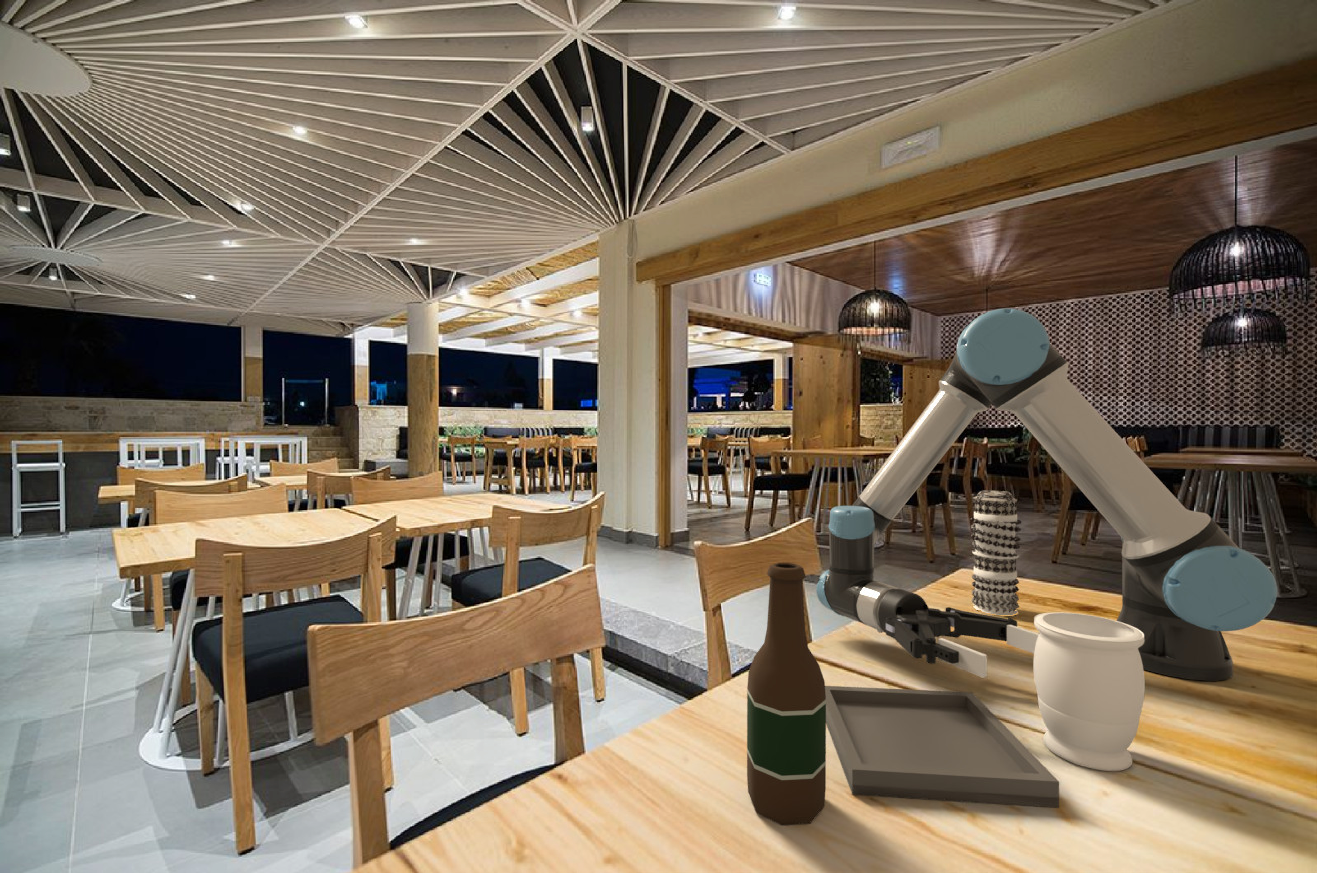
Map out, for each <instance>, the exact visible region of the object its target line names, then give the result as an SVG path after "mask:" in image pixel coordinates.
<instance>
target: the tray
mask: <svg viewBox="0 0 1317 873" xmlns="http://www.w3.org/2000/svg"><path fill="white" fill-rule="evenodd" d="M825 694H826V728H827V731H828V732H829V736H830V738H831V740H832V743H833V746H834V749H835V751H836V754H837V757H838V759H839V762H840V765H841V768H842V771H843V773H844V776H845V779H846V781H847V784H848V787H849V789H850V790H849V791H850V792H851V795H853V796H871V797H886V798H898V799H899V798H900V799H901V798H903V799H917V800H932V801H949V802H963V803H964V802H966V803H981V804H994V805H995V804H996V805H997V804H998V805H1012V806H1013V805H1014V806H1026V807H1029V806H1030V807H1042V808H1043V807H1044V808H1060V781H1059V780H1058V779H1057V778H1056V777H1055V776H1054V775H1053V774H1052V773H1051V772H1050V771H1049V769H1048V768H1046V767H1045V766H1044V764H1042V763H1041V761H1040V760H1039V759H1038V758H1037V757H1036V756H1035V755H1034V754H1033V753H1032V752H1031V750H1029V749H1028V748H1027V747H1026V746H1025V745H1024V744H1023V743H1022V742H1021V741H1020V740H1019V738H1017V737H1016V736H1015V735H1014V734H1013V732H1011V730H1009V729H1008V728H1007V727H1006V725H1004V723H1003V722H1002V721H1000V719H999V718H998V717H997V716H996V715H995V714H993V712H992V711H991V710H990V709H989V708H988V707H987V706H986V705H985V704H984V703H983V702H982V701H981V700H980V699H979V698H978V697H977V696H976V695H975V694H974V693H973V692H972V691H954V690H953V691H952V690H929V689H928V690H926V689H908V688H903V689H902V688H883V687H881V688H880V687H861V686H860V687H859V686H841V685H840V686H839V685H825Z"/></svg>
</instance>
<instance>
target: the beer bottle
mask: <svg viewBox="0 0 1317 873" xmlns="http://www.w3.org/2000/svg"><path fill="white" fill-rule="evenodd" d="M766 576H768V577H769V578H770V579H769V590H768V591H769V593H768V605H767V606H768V608H767V609H768V610H767V623H766V624H767V625H766V633H765V636H764V637H765V638H764V642H763V644H762V645H761V646H760V648H759V649H758V651H757V652H756V654H755V655H754V656H753V659H752V661H751V663H750V667H749V670H748V676H747V687H746V688H747V690H746V691H747V694H746V696H747V698H746V700H747V701H746V702H747V703H746V705H747V706H746V709H747V712H746V714H747V715H746V719H747V720H746V724H747V726H746V727H747V728H746V729H747V730H746V777H747V781H746V782H747V793H748V794H749V797H750V800H751V803H752V805H753V808H754V811H755V812H756V814H757V815H760V816H761V817H764V818H766V819H768V820H770V821H772V822H774V823H776V824H778V825H780V826H792V825H793V826H794V825H796V826H797V825H811V823H812V822H813V821H814V820H815V819H816V818H817V817H818V815H819V814H821V813H822V811H823V809H824V807H825V805H826V791H827V790H826V788H827V787H826V786H827V783H826V781H827V780H826V778H827V777H826V775H827V773H826V772H827V770H826V768H827V767H826V766H827V765H826V764H827V762H826V761H827V756H826V755H827V753H826V752H827V750H826V749H827V747H826V746H827V743H826V742H827V738H826V737H827V736H826V735H827V725H826V694H825V686H826V685H825V684H826V683H825V682H826V680H825V679H824V676H823V673H822V669H821V666H820V664H819V662H818V661H817V659H816V658H815V656H814V655H813V653H812V652H811V650H810V648H809V645H808V639H807V638H808V637H807V633H806V619H805V603H804V602H805V601H804V590H803V589H804V586H803V585H804V584H803V580H804V579H805V578H806V573H805V570H804V567H802V565H799V564H798V563H792V562H777V563H773V564H771V565H769V566H768V570H767V573H766Z"/></svg>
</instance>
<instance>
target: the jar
mask: <svg viewBox="0 0 1317 873" xmlns="http://www.w3.org/2000/svg"><path fill="white" fill-rule="evenodd" d="M1033 619H1034V620H1033V623H1034V624H1033V625H1034V627H1035V629H1036V630H1037V631H1038V632H1039V633H1038V634H1039V635H1038V638H1037V641H1036V646H1035V652H1034V653H1033V667H1032V668H1033V679H1034V685H1035V686H1034V687H1035V690H1036V693H1037V703H1038V707H1039V712H1040V715H1041V717H1042V720H1043V723H1044V724H1045V727H1046V728H1047V730H1046V732H1045V733H1044V734H1043V737H1042V738H1043V739H1042V740H1043V743H1044V745H1045V747H1046V748H1047V749H1049V750H1050V752H1051V753H1053V754H1054V755H1056V756H1058V757H1060V758H1061V759H1064V760H1066V761H1068V762H1070V763H1073V764H1075V765H1077V766H1081V767H1084V768H1088V769H1092V770H1097V771H1106V772H1107V771H1108V772H1118V771H1124V770H1127V769H1129V768H1130V767H1131V766H1132V764H1133V757H1132V755H1131V753H1130V751H1129V750H1128V748H1129V747H1130V746H1131V745H1132V743H1133V741H1134V739H1135V738H1136V735H1137V733H1138V729H1139V725H1140V718H1141V714H1142V711H1143V707H1144V701H1145V689H1146V688H1145V685H1146V684H1145V682H1146V681H1145V674H1144V673H1145V672H1144V671H1145V670H1144V669H1143V664H1142V660H1141V656H1140V653H1139V651H1138V648H1139V647H1141V646H1142V645H1143V644H1144V634H1143V632H1141V631H1140V630H1139V629H1137V628H1135V627H1133V626H1130V625H1128V624H1125V623H1122V622H1119V621H1117V620H1115V619H1110V618H1106V617H1102V616H1097V615H1092V614H1091V615H1090V614H1084V613H1076V612H1075V613H1074V612H1062V611H1061V612H1058V611H1057V612H1044V613H1039V614H1037V615H1034V617H1033Z"/></svg>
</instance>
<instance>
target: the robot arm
mask: <svg viewBox="0 0 1317 873" xmlns="http://www.w3.org/2000/svg"><path fill="white" fill-rule="evenodd" d="M1047 332H1048V331H1047V330H1046V327H1045V326H1044V324H1043V323H1042V322H1041V321H1040V320H1038V319H1037V318H1036V317H1035V315H1033V314H1031V313H1029V312H1026V311H1023V310H1021V309H1017V308H1008V307H1005V308H998V309H992V310H989V311H987V312H984V313H983V314H981V315H979V316H978V317H976V318H975V319H973V320H972V321H971V322H970V323H969V324H968V325H967V326H965V327H964V328H963V330H962V332H961V334H960V335H959V338H958V339H957V344H956V351H955V354H954V356H953V358H952V361H951V363H950V364H949V366H948V368H947V370H946V371H945V372H944V374H943V375H942V377H941V378H940V379H939V381H938V385H939V389H938V391H937V392H936V394H935V395H934V397H933V398H932V399H931V400H930V402H928V403H929V404H928V405H927V406H926V407H925V409H924V410H923V411H922V412H921V414H920V415H919V417H918V418H917V419H916V420H915V422H914V423H913V424H912V426H911V427H910V428H909V430H908V431H907V433H906V434H905V435H904V437H902V439H901V441H899V443H898V444H897V446H896V447H895V448H894V450H893V451H892V452H891V454H890V455H889V456H888V458H887V459H886V460H885V461H884V463H883V464H882V466H881V467H880V468H879V470H878V471H877V472H876V474H874V476H873V477H872V479H871V480H870V481H869V482H868V484H867V485H866V487H864V489H863V490H862V492H861V493H860V494H859V496H858V498H857V499H856V500H855V501H854V503H853V504H852V505H840V506H839V505H838V506H834V507H832V508H831V509H830V511H829V523H828V527H827V528H828V529H829V530H828V532H829V534H828V536H829V566H828V567H829V568H828V569H826V570H825V571H824V572H822V574H820V576H819V580H818V582H817V583H816V588H815V591H816V596H817V598H818V601H819V603H820V604H821V605H822V606H823V607H824V608H826V609H828V610H830V611H831V612H833V613H834V614H836V615H839V616H842V617H846V618H847V619H850V620H853V621H856V622H858V623H861V624H862V625H865V626H867V627H870V628H873V629H875V630H876V631H877V633H879V634H880V633H885V635H886V636H888V637H889V638H892V639H893V640H895V641H896V642H897V643H898V644H899V645H900V646H901V647H902V648H903V649H904V650H905V651H906V652H907V653H908V654H909V655H910V656H911V657H912V658H913V659H917V660H918V659H920V660H921V659H923V656H925V662H926V663H927V664H929V665H930V664H931V665H935V664H936V663H937V661H936V660H940V661H942V662H944V663H947V664H949V665H951V666H954V667H955V668H958V669H961V670H963V671H966V672H967V673H970V674H973V675H975V676H977V677H980V678H982V679H983V678H987V675H988V674H987V673H988V671H987V668H988V666H987V664H988V662H987V661H988V659H987V658H988V656H987V654H985V653H983V652H980V651H978V650H974V649H971V648H969V647H967V646H964V645H961V644H959V643H956V642H954V641H951V640H948V639H947V638H948V637H949V638H956V639H957V638H960V637H961V636H966V637H972V638H980V639H985V640H986V639H987V640H995V641H1003V642H1006V645H1008V646H1011V647H1013V648H1017V649H1021V650H1022V651H1024V652H1029V653H1032V654H1034V652H1035V646H1036V641H1037V638H1038V635H1039V633H1038V632H1035V631H1032V630H1029V629H1026V628H1022V627H1019V626H1018V621H1017V620H1015V619H1014V618H1012V617H1007V618H1005V617H1001V616H992V615H987V614H983V613H978V612H976V613H975V612H970V611H966V610H965V611H964V610H961V609H957V608H953V607H950V606H947V607H945V609H944V611H943V610H940V609H939V608H935V607H934V608H932V607H930V608H929V606H928V604H927V602H926V600H925V599H924V598H923V597H922V596H921V595H919V594H917V593H915V592H913V591H912V592H911V591H908V590H905V589H902V588H900V587H899V588H898V587H896V586H893V585H890V584H886V583H883V582H880V581H876V580H875V579H874V574H875V572H874V571H875V569H874V568H875V566H874V564H875V563H874V561H875V545H876V543H877V541H878V540H879V538H880V537H881V536H882V535H883V533H884V532H885V531H886V529H887V528H888V527H889V526H890V524H891V522H892V521H893V520H894V519H895V517H896V516H897V515H898V514H899V512H900V511H901V510H902V508H904V506H905V505H906V503H907V502H908V501H909V500H910V498H912V496H913V495H914V494H915V492H916V491H917V490H918V488H920V486H921V485H922V483H923V482H924V481H925V480H926V479H927V477H928V476H929V475H930V473H931V472H932V471H933V470H934V468H935V467H936V466H937V464H938V463H939V462H940V461H941V459H942V458H943V457H944V456H945V454H946V453H947V452H948V451H949V449H950V448H951V447H952V446H953V444H955V442H956V440H958V438H959V436H960V435H961V434H962V433H963V432H964V430H965V429H966V428H967V426H969V424H970V423H971V422H972V420H973V419H974V418H975V416H976V415H977V414H978V413H979V412H980V413H981V412H985V411H988V410H989V409H990V407H991V406H992V405H993V407H994V408H995V409H996V411H1002V412H1011V413H1013V414H1014V415H1015V416H1016V418H1017V419H1018V420H1019V421H1020V422H1021V423H1022V425H1024V426H1025V428H1026V429H1027V430H1028V431H1029V432H1030V433H1031V434H1032V435H1033V437H1034V438H1035V439H1036V440H1037V442H1038V443H1039V444H1040V445H1041V446H1042V447H1043V449H1044V450H1045V451H1046V452H1047V453H1048V454H1049V456H1051V457H1052V459H1053V461H1055V463H1057V465H1059V467H1060V468H1061V469H1062V470H1063V472H1064V474H1066V475H1067V476H1068V478H1070V480H1071V481H1072V482H1073V483H1074V484H1075V485H1076V487H1078V489H1079V490H1080V491H1081V492H1082V493H1083V495H1084V496H1085V497H1086V498H1087V499H1088V500H1089V501H1090V503H1091V504H1092V505H1093V506H1094V507H1095V509H1097V511H1098V512H1099V513H1100V514H1101V515H1102V517H1104V519H1105V520H1106V521H1107V522H1108V524H1110V526H1111V527H1112V528H1113V529H1114V530H1115V531H1116V532H1117V533H1118V534H1117V535H1119V536H1120V537H1121V541H1122V543H1121V544H1122V548H1121V549H1122V550H1121V557H1122V564H1121V565H1122V567H1121V568H1122V569H1121V570H1122V574H1121V575H1122V580H1121V581H1122V584H1121V585H1122V590H1121V591H1122V594H1121V595H1122V600H1121V601H1122V603H1121V605H1122V606H1121V610H1120V612H1119V615H1118V617H1117V619H1116V621H1119V622H1122V623H1125V624H1128V625H1130V626H1133V627H1135V628H1137V629H1139V630H1140V631H1141V632H1143V634H1144V644H1143V645H1142V646H1141V647H1139V648H1138V651H1139V653H1140V656H1141V660H1142V664H1143V670H1144V671H1147V672H1149V671H1150V672H1152V673H1155V674H1159V675H1164V676H1170V677H1173V678H1179V679H1186V680H1194V681H1207V682H1208V681H1210V682H1211V681H1215V682H1217V681H1224V680H1229V679H1230V678H1232V677H1233V676H1232V675H1234V673H1233V672H1234V670H1233V669H1234V668H1233V667H1234V664H1233V662H1234V661H1233V657H1232V655H1231V654H1230V651H1229V648H1228V645H1227V643H1226V640H1225V638H1224V636H1223V633H1222V632H1234V631H1241V630H1244V629H1248V628H1250V627H1253V626H1254V625H1256V624H1259V623H1260V622H1261V621H1263V620H1264V619H1265V618H1266V617H1267V616H1269V614H1270V613H1271V612H1272V611H1273V609H1274V607H1275V603H1276V602H1277V597H1278V585H1277V581H1276V579H1275V576H1274V574H1273V573H1272V571H1271V570H1270V569H1269V568H1268V566H1267V565H1266V564H1265V563H1264V562H1263V561H1262V560H1261V559H1260V558H1258V557H1256V556H1255V555H1254V554H1253V553H1251V552H1249V551H1247V550H1245V549H1242V548H1240V547H1239V546H1238V545H1237V544H1236V543H1235V542H1234V541H1233V540H1232V539H1231V538H1230V537H1229V535H1228V534H1226V532H1225V531H1224V530H1223V529H1222V528H1221V527H1220V526H1219V525H1218V523H1216V521H1214V519H1213V518H1212V517H1211V516H1210V515H1209V514H1208V513H1205V512H1200V511H1194V510H1190V509H1187V508H1185V506H1184V505H1183V504H1182V503H1181V502H1180V501H1179V499H1177V497H1176V496H1175V495H1174V494H1173V493H1172V492H1171V491H1170V490H1169V488H1167V487H1166V485H1165V484H1163V482H1162V481H1161V480H1160V479H1159V478H1158V476H1156V474H1154V472H1153V471H1152V470H1151V469H1150V468H1149V467H1148V466H1147V465H1146V463H1145V462H1144V461H1143V460H1142V459H1141V458H1140V457H1139V456H1138V454H1136V453H1135V451H1134V450H1133V449H1132V448H1131V447H1130V446H1129V445H1128V444H1127V443H1126V442H1125V440H1124V439H1122V437H1121V436H1120V435H1119V434H1118V433H1117V432H1116V431H1115V429H1114V428H1112V426H1111V425H1110V424H1109V423H1108V422H1107V421H1106V420H1105V419H1104V417H1103V416H1102V415H1101V414H1100V413H1099V412H1098V411H1097V410H1096V409H1095V408H1094V407H1093V405H1092V404H1090V402H1089V401H1088V400H1087V399H1086V398H1085V397H1084V396H1083V395H1082V393H1081V392H1080V391H1079V390H1078V389H1077V388H1076V387H1075V385H1074V384H1072V383H1071V381H1070V380H1069V379H1068V369H1069V364H1070V363H1069V362H1068V361H1067V360H1066V358H1064V357H1063V356H1062V353H1060V352H1059V351H1058V349H1056V348H1055V347H1054V346H1053V344H1052V343H1051V342H1050V338H1049V334H1048V333H1047ZM951 628H954V629H953V630H952V631H951ZM941 636H942V637H941ZM939 637H940V638H939ZM943 637H947V638H946V639H945V638H943ZM936 638H938V639H936ZM1231 676H1232V677H1231Z"/></svg>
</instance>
